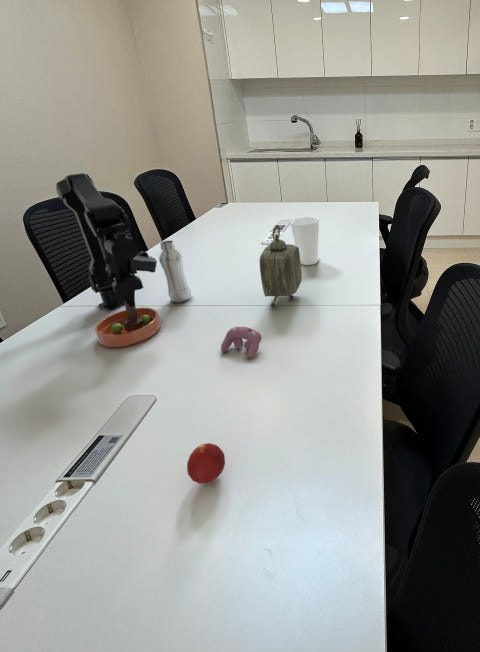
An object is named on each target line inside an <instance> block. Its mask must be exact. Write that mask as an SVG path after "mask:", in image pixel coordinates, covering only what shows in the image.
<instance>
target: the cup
mask: <svg viewBox="0 0 480 652" xmlns="http://www.w3.org/2000/svg"><path fill="white" fill-rule="evenodd" d="M289 224H290V229H291V233H292V237H293V242H294V245H295V246H296V247H298V248H299V253H300V262H301V265H303V266H311V265H316V264H317V263H318V260H319V231H320V229H319V228H320V227H319V226H320V219H319V218H318V217H313V216H302V217H297V218H293V219H292V220H291V221H290V222H289Z"/></svg>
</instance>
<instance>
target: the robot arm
mask: <svg viewBox="0 0 480 652" xmlns="http://www.w3.org/2000/svg"><path fill="white" fill-rule="evenodd" d="M55 190H56V193H57V196H58V198H59V199H60V200H62V202H63V204H64V205H65V206H66V207H67V208H68V209H70V210H71V211H72V212H74V215H75V218H76V220H77V223H78V225H79V228H80V231H81V233H82V234H81V235H82V237H83V239H84V242H85V245H86V248H87V250H88V253H89V256H90V258H91V259H90V262H89V265H88V271H89V274H88V283H89V286H90V288H91V290H92V291H93V293H95V294H98V293H99V295H100V298H101V301H102V302H101V303H99V304H98V307H100V308H104V309H107V310H111V311H112V310H114V309H116V308H118V307H120V306H122V305H125V302H126V303H127V304H128V305H129V306H130V307H133V306H136V291H139V290H142V289H144V285H143V281H142V280H141V278H140V276H138V275H136V274H138V272H148V273H156V269H157V263H158V261H157V259H156V258H155V257H153V256H150V255H149V253H148V252H147V251H142V250H141V251H140V252H139V245H138V244H137V242H136V241H135V240H134V239H133V238H131V237H129V236H127V233H126V232H127V231H130V230H132V227H131V225H132V224H131V223H132V222H131V221H130V219H129V217H128V215H127V214H126V212H125V210H124V209H123V208H122V207H121V206H120V205H118V204H117V202H116V201H114V200H113V199H111V198H108V197H104V196H103V195H102V194H101V193H100V190H98V189H97V188H96V186H95V184H94V181H93V178H92V177H90V175H89V174H88V173H85V172H84V173H83V172H82V173H81V172H80V173H75V174H74V173H73V174H68V175H66V176H65V177H64V178H63V179H62V180H60V181H58V182H56V184H55ZM124 301H125V302H124Z"/></svg>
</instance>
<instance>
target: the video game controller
mask: <svg viewBox="0 0 480 652" xmlns="http://www.w3.org/2000/svg"><path fill="white" fill-rule="evenodd" d="M244 340H246V341H245V342H244ZM261 342H262V335H261V333H260V332H259V331H256V330H255V329H253V328H251V327H247V326H234V327H231V328H230V329H229V330H228V331H227V332H226V335H225V336H224V339H223V340H222V342H221V345H220V351H221V352H222V353H225V352H227V351H228V350H229V349H230V347H231V346H232V345H233V346H234V348H236V349H240V348H244V350H245V351H248V353H247V354H248V358H250V359H252V358H254V357H255V356H256V354H257V352H258V350H259V347H260V343H261Z"/></svg>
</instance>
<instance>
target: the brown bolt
mask: <svg viewBox="0 0 480 652" xmlns="http://www.w3.org/2000/svg"><path fill="white" fill-rule="evenodd" d="M124 302H125V301H124ZM136 308H137V306H136V305H135V306H133V307H130V306H129V305H128V304H127V303H126V302H125V304H124V309H125V310H126V314H127V320H126V321H124V329H125V330H126V331H134V330H137V329H140V328H142V327H143V324H142V319H140V318H137V312H136Z"/></svg>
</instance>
